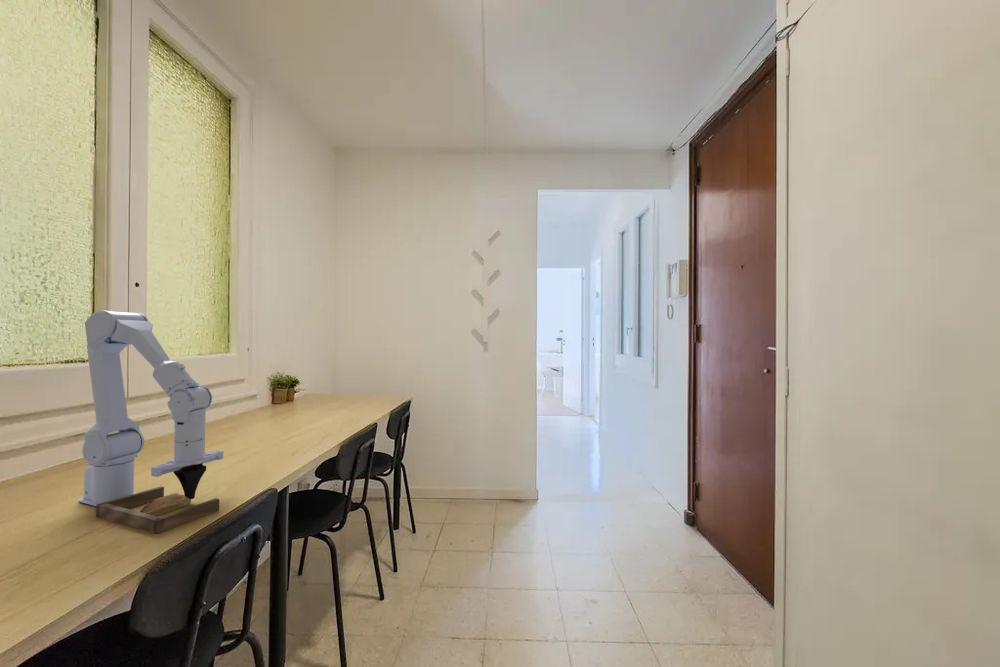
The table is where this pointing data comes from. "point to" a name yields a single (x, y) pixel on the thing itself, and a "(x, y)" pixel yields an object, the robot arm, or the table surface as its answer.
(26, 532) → the table surface
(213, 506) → the frame
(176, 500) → the shard
